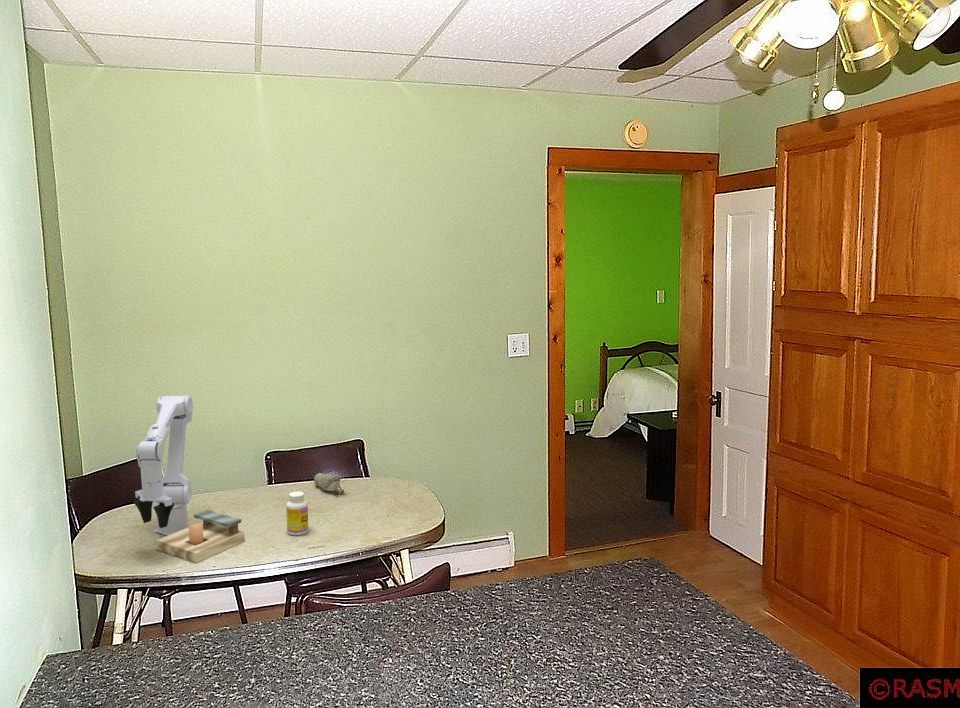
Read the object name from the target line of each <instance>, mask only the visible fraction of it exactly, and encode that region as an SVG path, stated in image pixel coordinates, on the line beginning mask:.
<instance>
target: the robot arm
mask: <svg viewBox="0 0 960 708" xmlns="http://www.w3.org/2000/svg"><path fill="white" fill-rule="evenodd" d="M193 403H194V402H193V399H192V397H191V396H190V395H189V394H188V395H160V396H159V397H158V398H157V399H156V411H157V417H156V420H155V423H154V424H151V425H150V426H149V429H148V430H147V433H146V435H145V437H144V438H143V440H141V441H140V442H139V443H137V445H136V448H135V458H136V459H137V463H138V464H137V465H138V467H139V468H140V480H141V489H139V490H136V491H134V492H135V494H134V495H135V498H136V499H135V500H133V504H134V505H135V507H136V508H137V510H138V511H139V514H140V517H141V520H142V522H143V523H144V524H146V523H149V522H151V521H152V518H153V517H152V516H153V514H152V513H153V512H152V511H153V510H154V511H155V514H156V515H155V516H156V526H157V528H156V529H155V530H154V532H155V533H158V534H160V535H164V536H168V535H171V534H173V533H176V532H178V531H181V530H184V529H186V528H189V527H188V526H189V522H188V519H189V518H188V508H187V507H188V506H187V505H188V504H189V503H190V502H191V500H192V494H193V493H192V482H191V480H190V479H189V478H188V477H187V476H185V475H184V474H183V471H184V457H185V447H186V446H185V443H186V441H185V440H186V429H187V424H188V423H190V422H192V418H193V410H194V404H193ZM168 436H169V437H168ZM167 439H168V451H167V461H166V462H167V463H166V474H165V475H164V476H163V465H162V460H163V458H164V456H165V455H164V454H165V448H166V446H165V443H166V441H167ZM153 503H156V504H157V505H154V506H153Z"/></svg>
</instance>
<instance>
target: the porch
mask: <svg viewBox="0 0 960 708" xmlns="http://www.w3.org/2000/svg"><path fill="white" fill-rule="evenodd" d="M193 517H194V519H198V520H202V522H200V523H202V524H203V539H204V542H203V543H201V544H198V545H196V546H195V545H192V544H190V542H189V528H186V529H184V530H181V531H178V532H176V533H173V534H171V535H168V536H167V535H165V536H163V537H160V538H159V539H156V549H157V551H161V552H163V553H167V554H169V555H172V556H175V557H179V558H180V557H181V559H185V560H186V561H189V562H192V563H194V564H197V563H200V562H202V561H204V560H206V559H209V558H210V557H212V556H213V557H214V556H215V555H217V554H219V553H221V552H223V551H226V550H228V549H230V548H233V547H235V546H237V545H239V544H243V543H244V542H245V531H242V530H239V524H241V523H242V519H241V518H237V517H235V516H231V515H227V514H224V513H220V512H217V511H213V510H210V509H204V510H201V511H200V512H197V513H194V514H193Z"/></svg>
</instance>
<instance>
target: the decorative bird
mask: <svg viewBox="0 0 960 708" xmlns="http://www.w3.org/2000/svg"><path fill="white" fill-rule="evenodd" d="M342 478H343V477H341V476H339V475H332V474H327V473H321V472H318V473H316V474H315V476H314V478H313V483H314V485H315V486H316V488H318V487H320V488H321V489H322V490H323V491H327V492H334V493H335V494H334V496H333V497H336V496H339V492H338V491H339V490H338V489H340V490H341V492H340V496H341V494H342V495H343V494H346V493H345V488H344V489H342V487H341V479H342Z"/></svg>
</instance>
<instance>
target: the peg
mask: <svg viewBox="0 0 960 708" xmlns="http://www.w3.org/2000/svg"><path fill="white" fill-rule="evenodd" d="M188 527H189V542H190V544H192V545H195V546H196V545H198V544H201V543H203V542H204V539H203V524H202V523H201V522H196V523H195V522H194V523H191V524H188Z"/></svg>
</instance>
